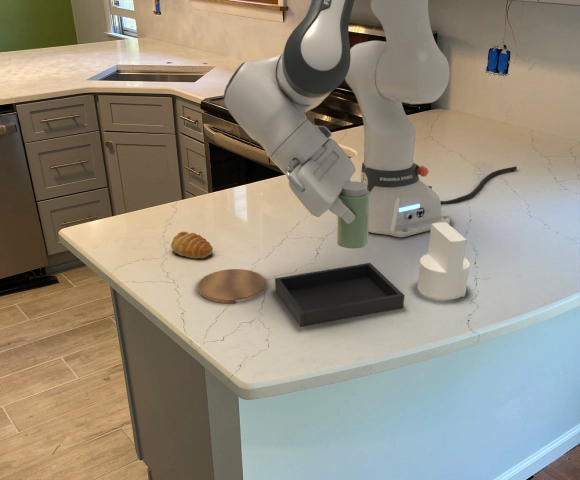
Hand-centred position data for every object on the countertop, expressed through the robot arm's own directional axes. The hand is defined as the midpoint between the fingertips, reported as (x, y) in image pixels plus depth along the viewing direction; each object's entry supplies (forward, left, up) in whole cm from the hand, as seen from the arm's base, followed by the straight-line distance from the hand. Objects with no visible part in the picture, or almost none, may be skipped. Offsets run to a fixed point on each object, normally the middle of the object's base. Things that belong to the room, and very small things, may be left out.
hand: (357, 212), depth 106 cm
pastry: (+24, -33, -17) cm, 44 cm away
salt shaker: (+1, 0, -5) cm, 5 cm away
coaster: (+20, -14, -17) cm, 30 cm away
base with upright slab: (-17, +2, -17) cm, 25 cm away
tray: (+3, -1, -17) cm, 18 cm away
